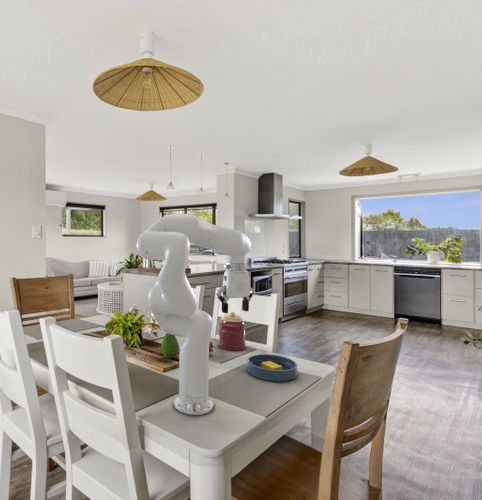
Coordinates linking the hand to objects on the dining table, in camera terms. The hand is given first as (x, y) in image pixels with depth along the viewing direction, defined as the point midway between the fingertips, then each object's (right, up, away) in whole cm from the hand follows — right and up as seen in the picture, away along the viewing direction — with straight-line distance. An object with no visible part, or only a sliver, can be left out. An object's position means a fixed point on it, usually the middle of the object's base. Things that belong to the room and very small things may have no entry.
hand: (235, 311), depth 139 cm
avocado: (-24, -25, +24) cm, 43 cm away
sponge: (+16, -26, +8) cm, 31 cm away
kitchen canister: (+7, -25, +42) cm, 49 cm away
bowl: (+16, -26, +8) cm, 32 cm away
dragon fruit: (-9, -25, +28) cm, 39 cm away
